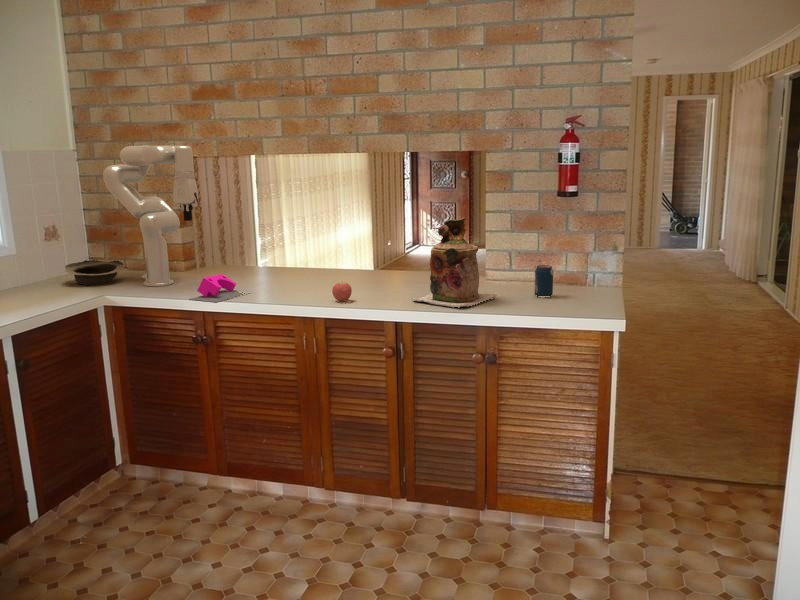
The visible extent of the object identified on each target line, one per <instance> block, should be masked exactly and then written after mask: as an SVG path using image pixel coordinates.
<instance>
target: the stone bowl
mask: <svg viewBox="0 0 800 600" xmlns="http://www.w3.org/2000/svg"><path fill="white" fill-rule="evenodd" d="M64 269H65V270H64V271H65V272H66V273H68V274H69V275H70V274H71V275H73V277H74V280H75V282H76V284H78V285H84V286H92V285H93V286H95V285H103V284H104V283H106V282H109V281H112V280H113V279H115V277H117V276H118V272H119V271H122V270H123V269H124V263H123V262H121V261H120V260H115V259H114V260H112V261H103V260H98V259H91V260H87V259H85V260H83V261H78V262H73V263H68V264H67V265H64Z"/></svg>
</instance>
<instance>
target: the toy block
mask: <svg viewBox="0 0 800 600" xmlns="http://www.w3.org/2000/svg"><path fill="white" fill-rule="evenodd" d="M236 285H237V282H235V281H234V280H232V279H230V277H227V276H226V275H224V274H223V273H221V274H215V275H209V276H205V277H204V276H203V278H202V280H201V282H200V284H199V285H198V288H197V290H196V292H198V293H199V294H201V296H202V295H204V296H205V297H207V296H211V295H212V294H213V295H218V294H219V292H220V291H222V289H223V290H228V291H230V292H231V291H233V290H235V287H236Z"/></svg>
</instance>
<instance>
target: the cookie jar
mask: <svg viewBox="0 0 800 600" xmlns="http://www.w3.org/2000/svg"><path fill="white" fill-rule="evenodd" d="M465 222H466V217H462V218H461V219H448V220H446V221H445V222H444V223H443V224H442V225H440V226H439V227H438V229H437V234H438V236H440V237H441V239H440V242H437V243H435V245H434V246H433V247H431V249H430V257H429V266H430V267H429V271H430V277H429V280H430V285H429V289H430V292H431V293H429V294H427V295H425V296H423V297H418V298H416V297H415V298H412V299H411V301H413V300H414V301H413V302H424V303H428V304H432V305H438V306H444V307H449V308H454V307H458V308H457V309H459V308H460V307H469V306H471V305H474V304H476V305H478V303H479V304H481V303H480V302H482V303H484V302H483V301H485V302H487V301H486V300H488V301H490V300H489V299H491V300H493V299H492V298H495V299H496V296H498V293H480V292H479V285H480V273H479V267H478V265H479V264H478V259H477V254H478V251H479V246H477V245H473V244H471V243H469V242H468V241H466V239H464V238H465V234H466V231H467V229H466V224H465ZM474 306H475V305H474ZM471 307H472V306H471Z"/></svg>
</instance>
